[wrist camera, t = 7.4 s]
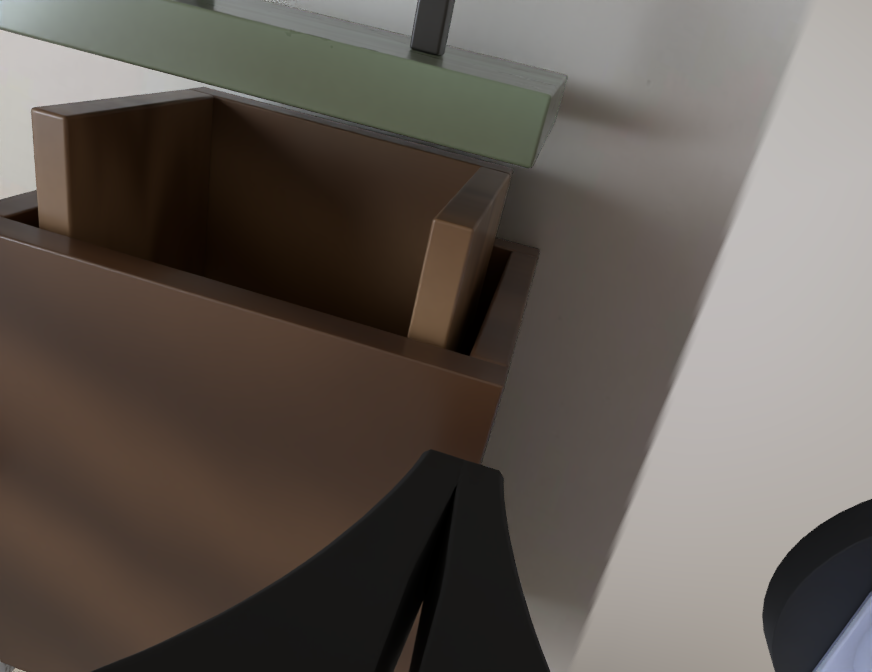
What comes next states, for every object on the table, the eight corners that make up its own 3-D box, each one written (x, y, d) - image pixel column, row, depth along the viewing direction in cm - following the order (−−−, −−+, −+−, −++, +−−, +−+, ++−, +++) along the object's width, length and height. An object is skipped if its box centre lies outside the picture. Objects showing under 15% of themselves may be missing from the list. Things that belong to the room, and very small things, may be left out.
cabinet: (182, 150, 20) (-65, 215, 13) (540, 249, 19) (504, 386, 12) (171, 483, 26) (-1, 662, 19) (442, 574, 25) (376, 806, 18)
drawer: (197, -230, 15) (-61, -405, 9) (629, -140, 14) (654, -273, 8) (176, 375, 23) (26, 494, 17) (457, 464, 22) (405, 626, 16)
